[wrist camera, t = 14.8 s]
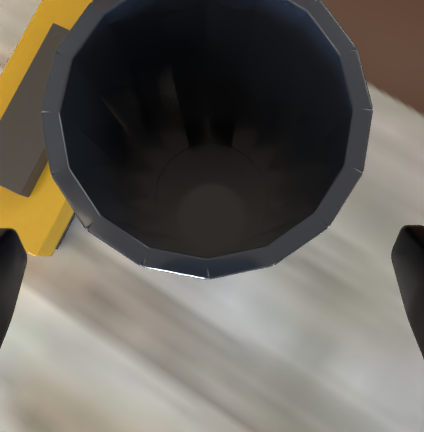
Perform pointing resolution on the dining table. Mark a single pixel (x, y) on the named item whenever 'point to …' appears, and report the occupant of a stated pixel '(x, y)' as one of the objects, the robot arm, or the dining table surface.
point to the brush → (33, 133)
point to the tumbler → (206, 129)
